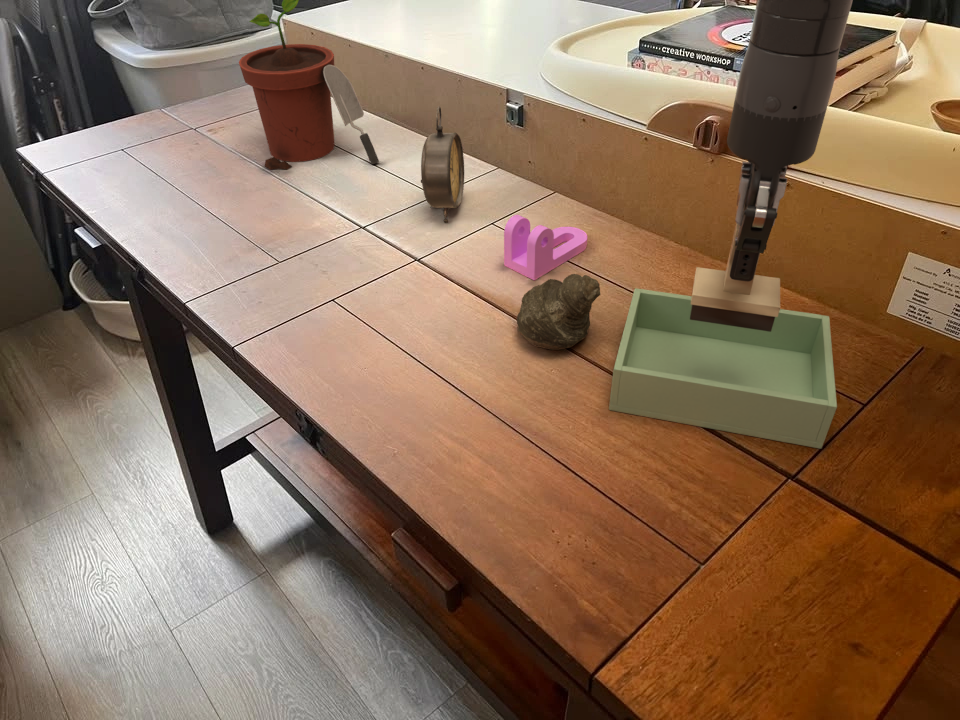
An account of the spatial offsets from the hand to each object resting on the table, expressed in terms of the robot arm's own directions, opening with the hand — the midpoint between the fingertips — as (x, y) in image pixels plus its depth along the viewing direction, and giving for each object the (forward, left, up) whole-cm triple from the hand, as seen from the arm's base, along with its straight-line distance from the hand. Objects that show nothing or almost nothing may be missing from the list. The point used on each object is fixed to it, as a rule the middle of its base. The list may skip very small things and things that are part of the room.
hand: (741, 269), depth 76 cm
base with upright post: (0, 0, -5) cm, 5 cm away
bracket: (+24, -22, -15) cm, 36 cm away
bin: (0, 0, -15) cm, 15 cm away
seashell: (+21, -5, -15) cm, 26 cm away
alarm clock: (+43, -31, -15) cm, 55 cm away
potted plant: (+73, -45, -15) cm, 87 cm away
